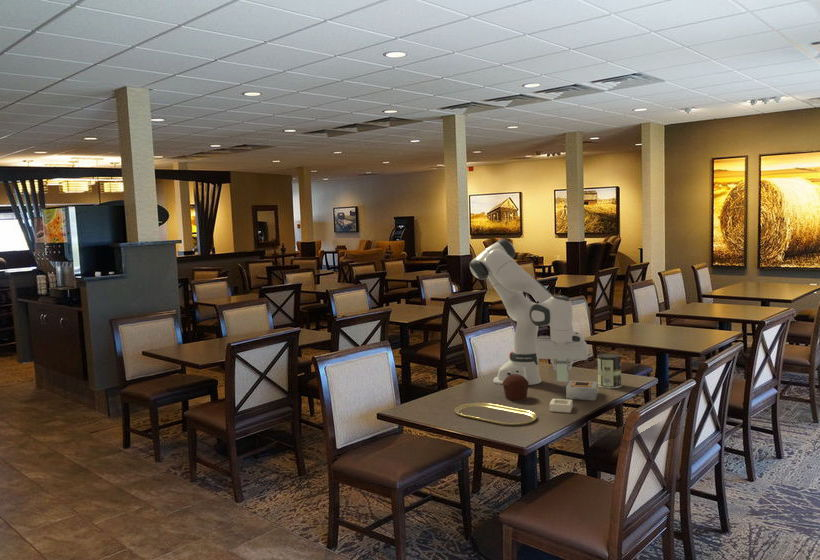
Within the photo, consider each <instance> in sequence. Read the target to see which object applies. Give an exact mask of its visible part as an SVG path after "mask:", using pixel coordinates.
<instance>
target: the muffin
mask: <svg viewBox="0 0 820 560" xmlns="http://www.w3.org/2000/svg"><path fill="white" fill-rule="evenodd" d="M528 384H529V382H528V381H527V380H526V378H525V377H523V376H521V375H519V374H512V375H509V376H508V377H506V378H505V380H504V381H503V383H502V384H501V385H502V386H503V392H504V396H505V399H506V400H508V401H513V402H514V401H524V400H525V399H527V396H528V388H529V385H528Z"/></svg>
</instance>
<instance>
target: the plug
mask: <svg viewBox="0 0 820 560" xmlns="http://www.w3.org/2000/svg"><path fill="white" fill-rule="evenodd" d="M555 365H557V370H556V382H564V383H565V382H567V383H568V382H569V371H567V369H568V368H567V366H568V365H569V360H567V359H555Z"/></svg>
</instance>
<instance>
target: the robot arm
mask: <svg viewBox="0 0 820 560" xmlns="http://www.w3.org/2000/svg"><path fill="white" fill-rule="evenodd" d="M515 257H516V249H515V247H514V244H513V243H511V241H509V240H508V239H506V238H501V239H499V240H497V241H496V242H494V243H493V244H491V245H489V246H488V247H486V248H485V249H484V250H483V251H482V252H480V253H479V254H478V255H477V256H475V257H473V258H472V259H471V261H470V262H469V269H470V272H471V274H472V275H473V276H474V277H475V278H477V279H478V280H485V279H488V282H490V284H491V286H492V288H493V289H494V291H495V292H496V294H497V295H498V297H500V300H501V302H502V304H503V305H504V308H505V309H506V313H507V315H508V316H509V318H510V319H511V320H513V321H515V322H516V329H515V332H514V334H513V337H512V338H513V341H512V343H513V344H512V345H513V350H512V351H510V353H509V355H508V357H509V360H508V361H506V362H505V363H504V364H503V365H501V366H500V367H499V369H498V373H497V375H496V376H495V377H493V380H492V381H493V384H495V385H496V384H498V385H503V384H502V383H503V381H504V380H505V378H506V377H508V376H509V375H512V374H519V375H521V376H523V377H525V378H526V380H527V381H528V382H529V384H528V386H532V385H538V384H540V383H541V382H542V379H541V376H540V371H539V363H540V362H539V361H540V360H550V361H549V362H550V364H551V365H552V367H553V371H557V364H556V359H567V360H568V361H569V363H570V364H568V366H567V368H568V369H567V371H568V372H570V371H572V366H573V364H574V362H575V361H587V360H588V358H589V349H588V344H587V342H586V341H585V337H586V336H585V334H583V333H581V332H577V331H574V327H573V314H574V313H573V303H572V300H571V299H570V297H568V296H566V295H563V294H562V295H561V294H552V293H551V292H550V291H549V290H548V289H547V288H546V287H545V286H544V285H543V284H542V283H541V282H540V281H539V280H538V279H536V278H535V277H534V276H532V275H531V274H529V272H527V271H525V270H524V269H523V268H522V266H521V265H519V263H517V262H516V260H515V259H514V258H515ZM524 293H525V294H526V293H527V294H529V295H531V296H532V297H533V298H534V299H535V300H537V302H538V303H536V302H534V301H530V300H528V299H527V298H526V297H525V295H524ZM539 327H549V328H550V329H549V331H550V334H549V335H538V332H539Z"/></svg>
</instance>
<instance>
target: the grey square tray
mask: <svg viewBox="0 0 820 560" xmlns="http://www.w3.org/2000/svg"><path fill="white" fill-rule="evenodd" d="M572 409H573V399H566V398H565V399H563V398H552V399H551V400H550V402H549V412H555V413H570V414H571V412H572Z"/></svg>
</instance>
